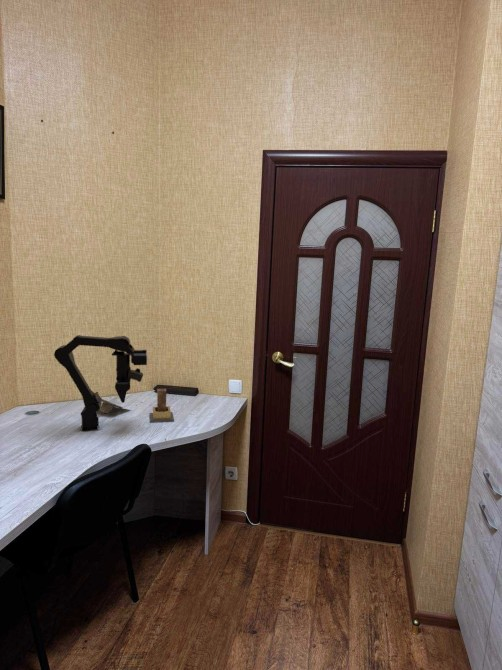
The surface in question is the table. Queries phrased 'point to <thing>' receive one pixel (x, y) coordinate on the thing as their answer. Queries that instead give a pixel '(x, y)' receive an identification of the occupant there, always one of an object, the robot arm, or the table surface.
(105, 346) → the robot arm
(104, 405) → the wall
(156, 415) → the gold square frame
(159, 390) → the rail post
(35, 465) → the table surface
